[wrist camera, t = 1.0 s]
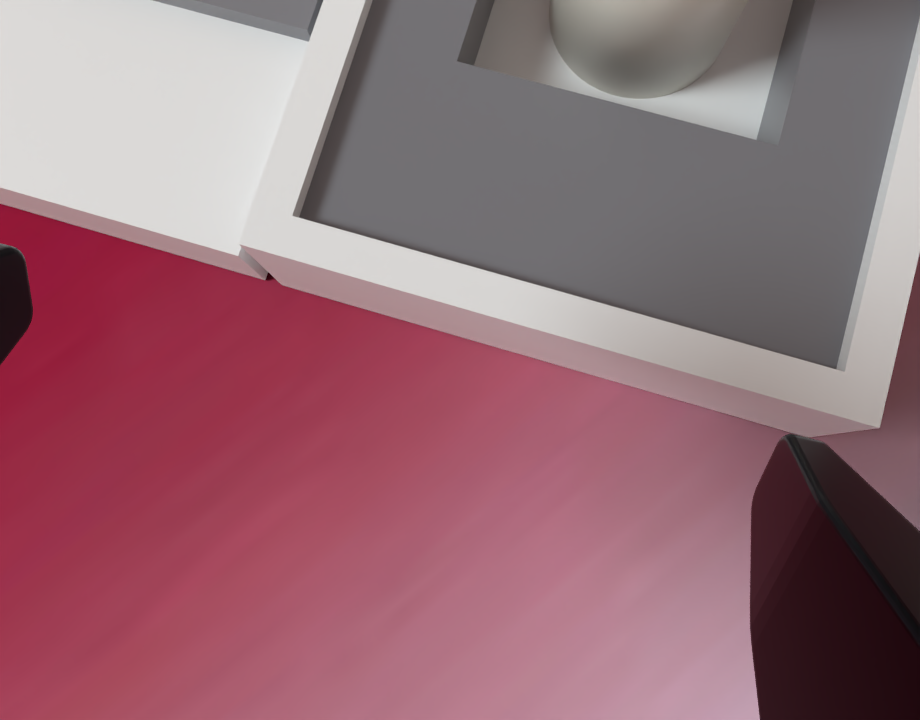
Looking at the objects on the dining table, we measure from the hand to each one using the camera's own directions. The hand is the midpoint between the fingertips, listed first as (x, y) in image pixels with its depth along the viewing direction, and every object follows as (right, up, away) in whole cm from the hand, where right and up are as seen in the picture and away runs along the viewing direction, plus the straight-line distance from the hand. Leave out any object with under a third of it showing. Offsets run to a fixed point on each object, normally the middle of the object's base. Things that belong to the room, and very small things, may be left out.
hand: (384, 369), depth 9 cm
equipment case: (0, +11, +15) cm, 19 cm away
